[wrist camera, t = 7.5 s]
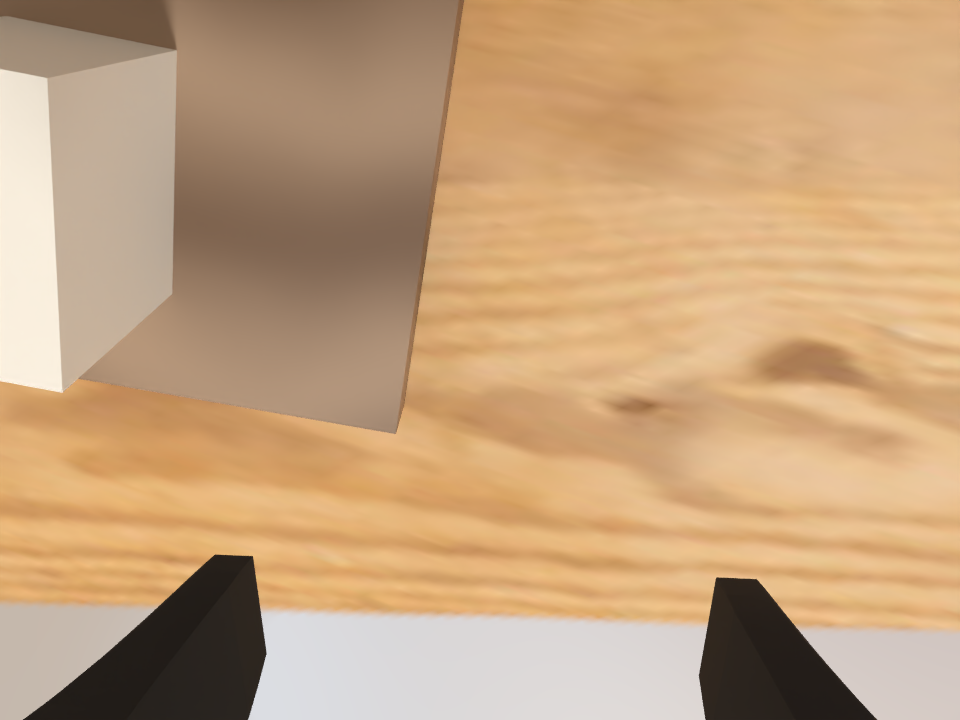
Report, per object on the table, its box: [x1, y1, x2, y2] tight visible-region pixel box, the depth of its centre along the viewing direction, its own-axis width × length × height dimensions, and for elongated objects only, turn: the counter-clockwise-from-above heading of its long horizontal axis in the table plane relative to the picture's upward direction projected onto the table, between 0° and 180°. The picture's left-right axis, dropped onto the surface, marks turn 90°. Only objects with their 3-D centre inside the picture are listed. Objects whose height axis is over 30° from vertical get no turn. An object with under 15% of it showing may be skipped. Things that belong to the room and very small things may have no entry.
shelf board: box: [0, 0, 464, 434], centre depth 19 cm, size 11×14×2 cm
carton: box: [0, 16, 177, 393], centre depth 16 cm, size 6×4×5 cm, turn 169°
